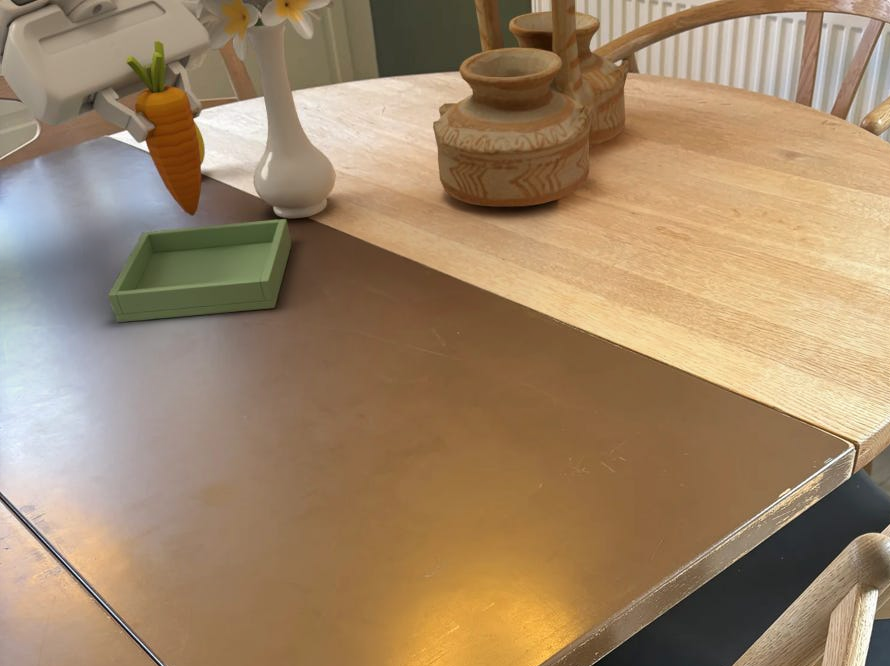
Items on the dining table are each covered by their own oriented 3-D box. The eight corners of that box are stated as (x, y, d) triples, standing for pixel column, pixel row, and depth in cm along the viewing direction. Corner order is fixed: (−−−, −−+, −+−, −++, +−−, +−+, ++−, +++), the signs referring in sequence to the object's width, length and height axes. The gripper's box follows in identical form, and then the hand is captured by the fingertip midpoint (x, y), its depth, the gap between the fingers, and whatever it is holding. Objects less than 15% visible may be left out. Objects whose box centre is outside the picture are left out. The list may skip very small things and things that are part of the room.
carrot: (172, 229, 98) (122, 55, 88) (163, 213, 101) (113, 44, 91) (222, 217, 99) (178, 45, 89) (211, 201, 103) (168, 33, 92)
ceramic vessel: (580, 220, 108) (576, -59, 91) (419, 214, 113) (387, -51, 96) (641, 118, 132) (647, -121, 114) (505, 116, 137) (491, -112, 119)
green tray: (117, 322, 99) (107, 295, 97) (150, 257, 111) (142, 232, 109) (274, 308, 99) (268, 280, 97) (291, 244, 110) (286, 218, 108)
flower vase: (253, 186, 125) (197, -57, 108) (389, 193, 119) (353, -62, 102) (196, 227, 116) (127, -30, 99) (340, 237, 110) (292, -34, 93)
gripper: (138, -2, 100) (235, 114, 103) (-33, 56, 89) (81, 185, 91) (156, -55, 95) (258, 68, 98) (-23, -1, 84) (98, 137, 86)
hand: (172, 125), depth 94 cm, fingers closed on carrot, 5 cm apart
